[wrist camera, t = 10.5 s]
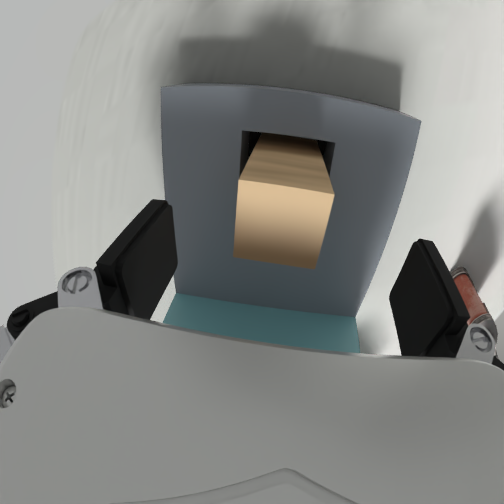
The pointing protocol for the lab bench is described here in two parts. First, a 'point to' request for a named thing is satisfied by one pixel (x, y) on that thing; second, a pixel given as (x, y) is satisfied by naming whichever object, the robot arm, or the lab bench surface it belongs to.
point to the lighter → (474, 302)
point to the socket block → (225, 202)
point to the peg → (283, 202)
